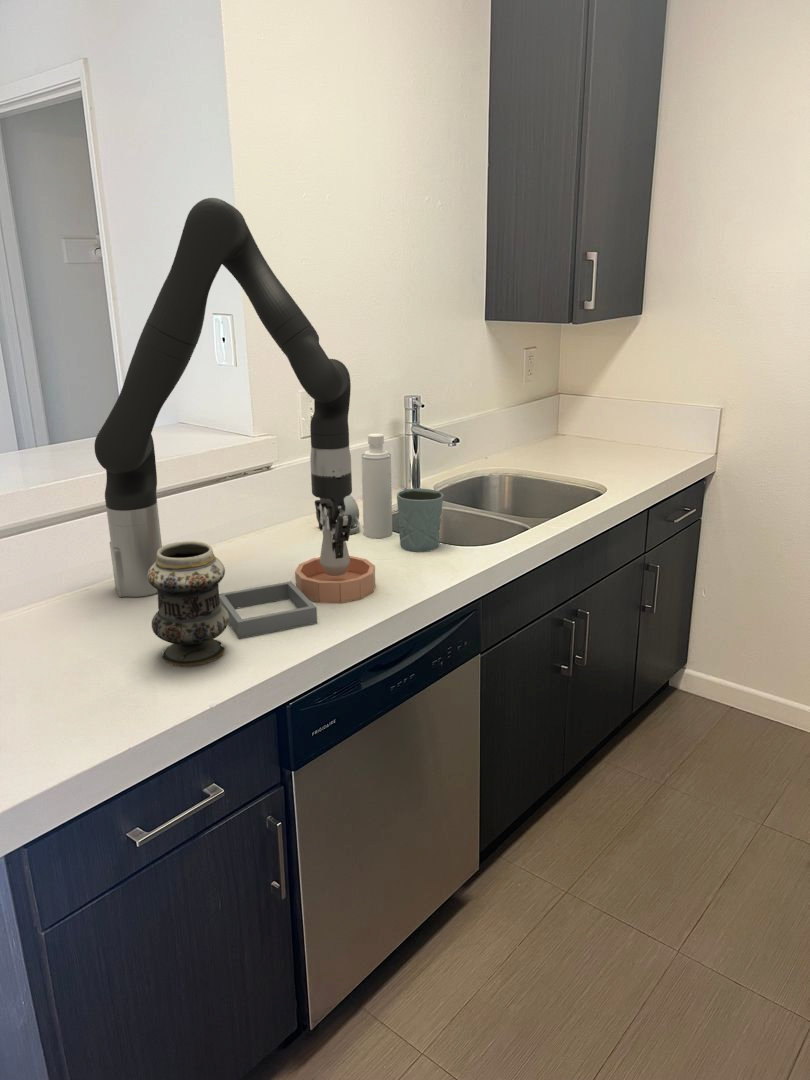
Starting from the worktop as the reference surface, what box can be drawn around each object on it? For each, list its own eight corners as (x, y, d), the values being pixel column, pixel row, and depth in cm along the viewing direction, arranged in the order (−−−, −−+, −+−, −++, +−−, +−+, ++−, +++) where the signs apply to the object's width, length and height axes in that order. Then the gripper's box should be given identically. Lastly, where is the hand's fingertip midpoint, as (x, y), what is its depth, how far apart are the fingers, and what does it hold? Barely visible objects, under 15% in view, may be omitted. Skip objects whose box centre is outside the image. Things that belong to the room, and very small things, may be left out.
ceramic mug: (314, 527, 198) (313, 496, 195) (341, 520, 203) (340, 490, 200) (340, 538, 190) (339, 506, 187) (368, 531, 195) (368, 500, 193)
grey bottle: (369, 528, 196) (367, 424, 188) (396, 531, 194) (394, 425, 186) (359, 536, 191) (356, 429, 183) (386, 539, 188) (384, 431, 180)
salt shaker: (345, 578, 157) (343, 513, 152) (316, 576, 158) (313, 511, 153) (353, 568, 162) (351, 504, 158) (325, 566, 163) (322, 503, 159)
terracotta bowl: (312, 608, 151) (311, 588, 150) (287, 581, 164) (285, 562, 163) (387, 594, 157) (386, 574, 156) (356, 569, 170) (356, 551, 169)
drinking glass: (388, 544, 185) (387, 493, 181) (423, 535, 191) (423, 485, 187) (416, 556, 178) (416, 502, 174) (452, 546, 183) (452, 494, 179)
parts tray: (239, 638, 139) (237, 622, 138) (218, 609, 151) (217, 594, 150) (317, 623, 145) (316, 607, 144) (291, 595, 157) (291, 581, 156)
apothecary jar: (243, 657, 133) (234, 552, 127) (169, 677, 126) (156, 567, 121) (216, 631, 142) (207, 532, 137) (146, 648, 136) (133, 545, 130)
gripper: (299, 464, 158) (303, 549, 163) (325, 480, 146) (329, 571, 151) (336, 460, 161) (339, 543, 166) (364, 475, 149) (367, 565, 154)
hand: (334, 556), depth 159 cm, fingers closed on salt shaker, 3 cm apart
